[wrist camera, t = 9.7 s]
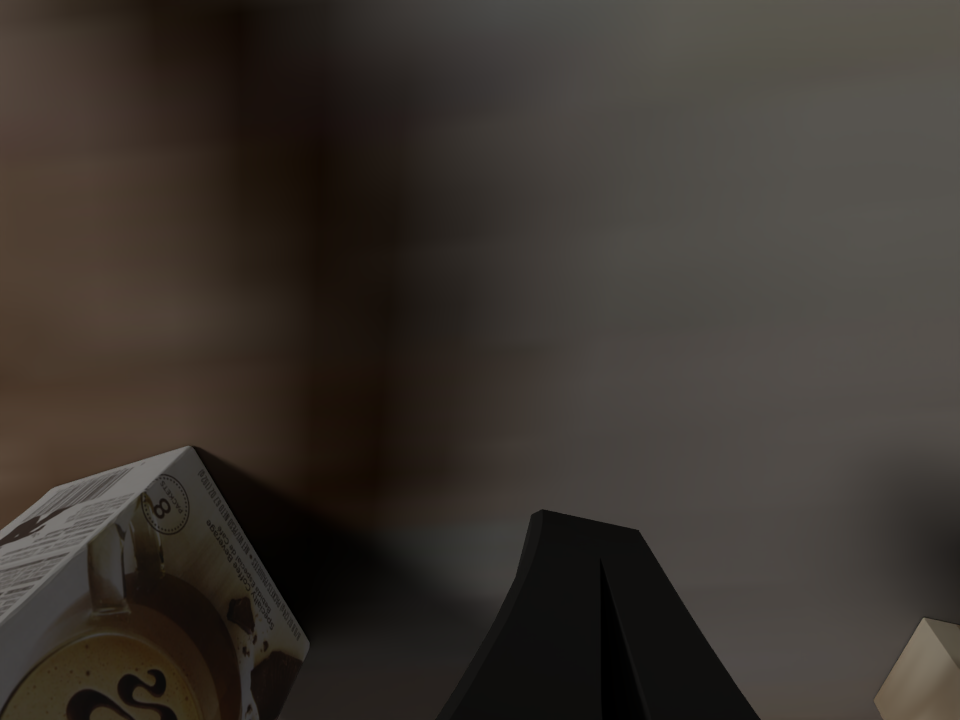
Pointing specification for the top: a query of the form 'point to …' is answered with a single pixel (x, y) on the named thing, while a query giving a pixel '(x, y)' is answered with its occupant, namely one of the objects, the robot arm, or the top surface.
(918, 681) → the wooden tray
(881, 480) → the top surface
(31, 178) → the top surface
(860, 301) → the top surface
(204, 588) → the coffee box
